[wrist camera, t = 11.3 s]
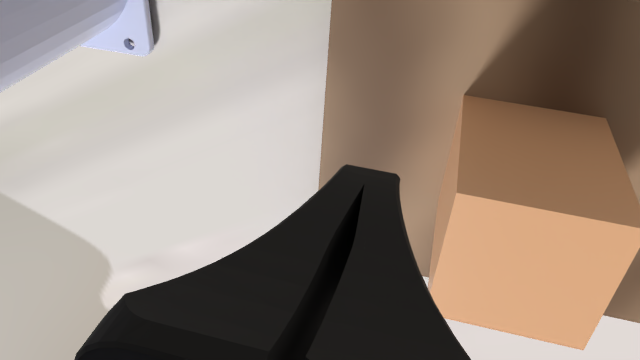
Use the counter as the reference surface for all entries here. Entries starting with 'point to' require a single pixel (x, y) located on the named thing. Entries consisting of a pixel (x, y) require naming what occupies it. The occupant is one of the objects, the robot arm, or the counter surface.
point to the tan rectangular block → (532, 222)
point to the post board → (473, 89)
